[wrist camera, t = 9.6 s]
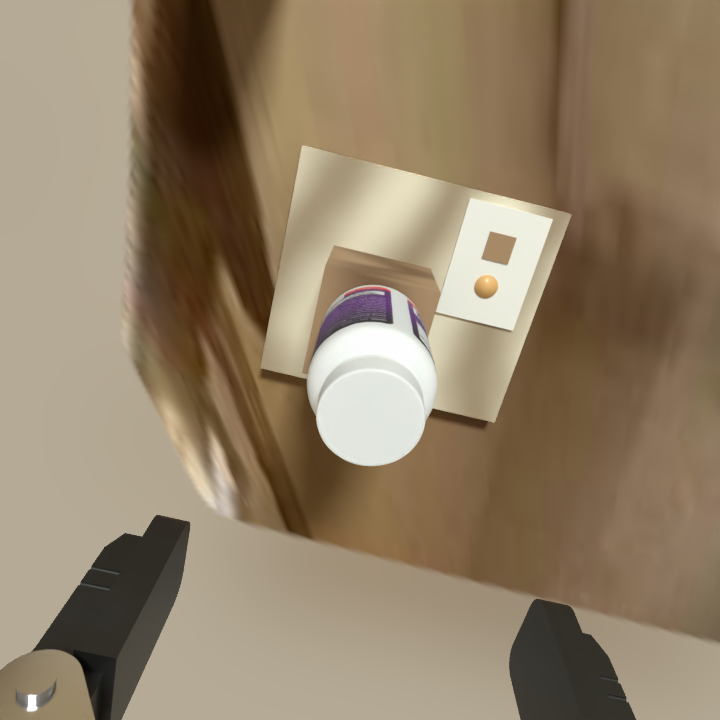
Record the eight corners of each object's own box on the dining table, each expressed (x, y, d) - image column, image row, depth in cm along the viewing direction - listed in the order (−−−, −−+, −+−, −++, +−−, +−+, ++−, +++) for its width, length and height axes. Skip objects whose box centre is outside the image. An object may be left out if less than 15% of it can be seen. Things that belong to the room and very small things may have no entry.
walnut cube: (430, 268, 34) (441, 293, 28) (405, 358, 36) (409, 397, 30) (334, 245, 34) (325, 265, 28) (314, 336, 36) (301, 373, 30)
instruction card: (552, 218, 33) (553, 219, 32) (512, 329, 35) (513, 331, 35) (469, 198, 32) (470, 198, 32) (435, 311, 35) (436, 312, 35)
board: (565, 212, 34) (571, 214, 32) (491, 414, 39) (494, 422, 38) (304, 145, 33) (302, 145, 32) (263, 361, 38) (260, 368, 37)
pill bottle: (305, 355, 30) (272, 448, 21) (348, 264, 28) (333, 323, 19) (395, 396, 30) (403, 504, 21) (443, 310, 29) (474, 389, 20)
